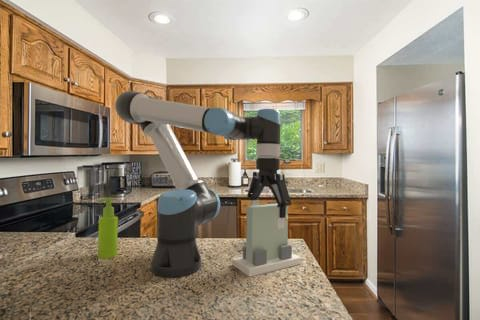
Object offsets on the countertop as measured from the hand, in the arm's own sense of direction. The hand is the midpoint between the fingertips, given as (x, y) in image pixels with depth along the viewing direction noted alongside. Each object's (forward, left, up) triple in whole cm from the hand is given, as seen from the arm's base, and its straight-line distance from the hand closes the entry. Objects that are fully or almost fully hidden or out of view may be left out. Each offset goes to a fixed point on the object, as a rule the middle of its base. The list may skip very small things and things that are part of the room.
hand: (266, 223), depth 86 cm
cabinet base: (0, 0, -13) cm, 13 cm away
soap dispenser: (-44, +33, -13) cm, 56 cm away
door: (0, 0, -11) cm, 11 cm away
